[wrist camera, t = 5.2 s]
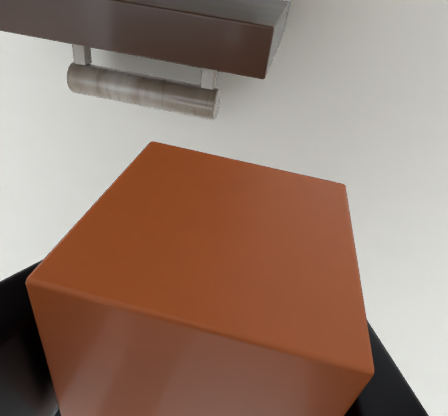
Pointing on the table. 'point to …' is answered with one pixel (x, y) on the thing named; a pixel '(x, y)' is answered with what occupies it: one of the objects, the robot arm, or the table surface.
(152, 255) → the block
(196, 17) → the drawer
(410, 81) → the table surface
